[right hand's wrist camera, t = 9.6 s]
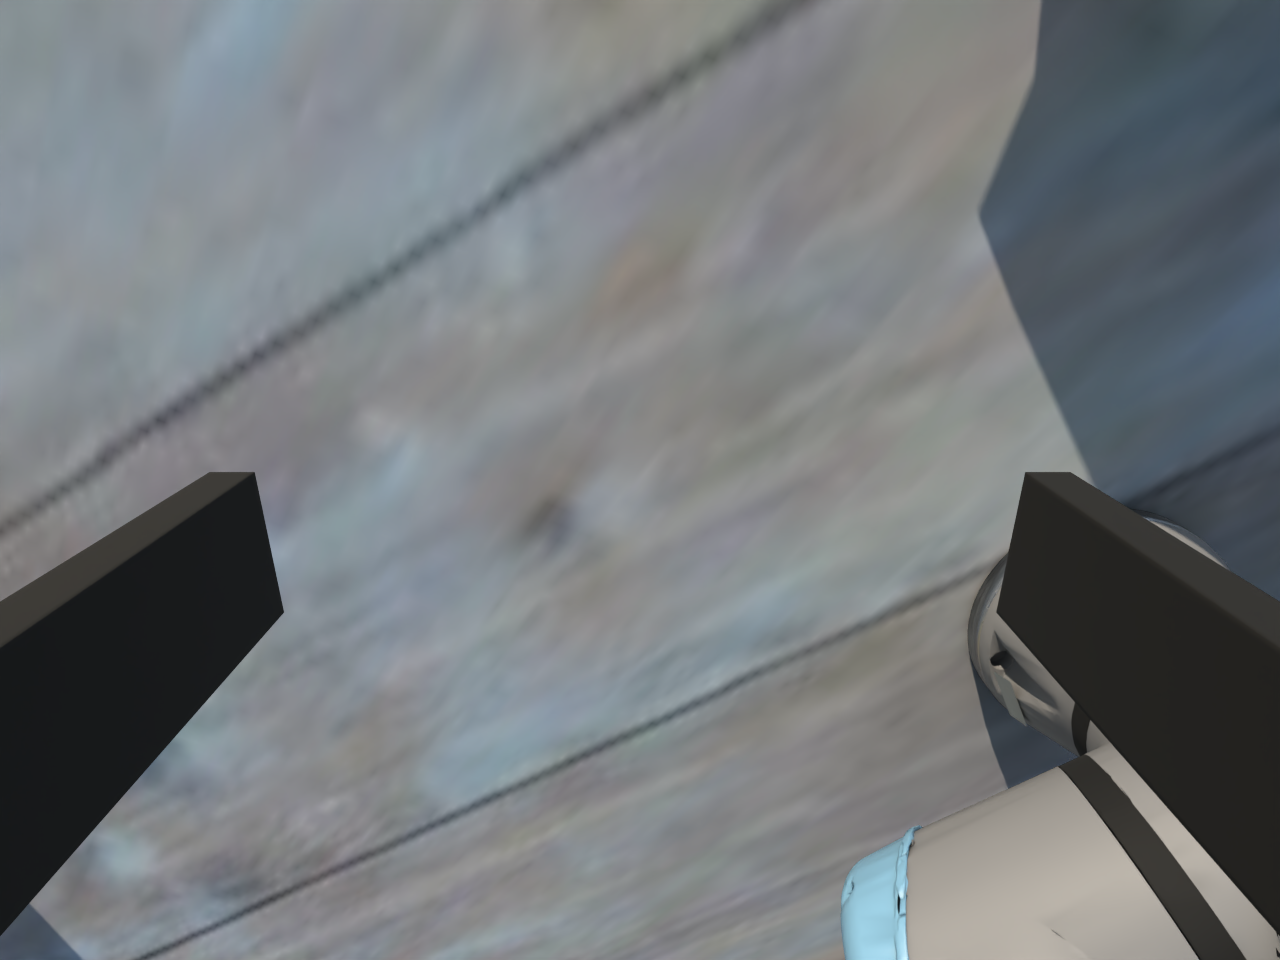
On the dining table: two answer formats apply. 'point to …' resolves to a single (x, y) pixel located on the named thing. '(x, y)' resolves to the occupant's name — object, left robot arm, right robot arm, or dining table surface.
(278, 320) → the dining table surface
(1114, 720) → the right robot arm
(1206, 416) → the dining table surface
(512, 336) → the dining table surface
